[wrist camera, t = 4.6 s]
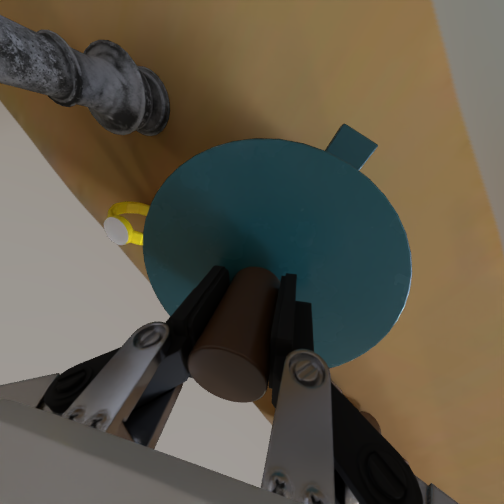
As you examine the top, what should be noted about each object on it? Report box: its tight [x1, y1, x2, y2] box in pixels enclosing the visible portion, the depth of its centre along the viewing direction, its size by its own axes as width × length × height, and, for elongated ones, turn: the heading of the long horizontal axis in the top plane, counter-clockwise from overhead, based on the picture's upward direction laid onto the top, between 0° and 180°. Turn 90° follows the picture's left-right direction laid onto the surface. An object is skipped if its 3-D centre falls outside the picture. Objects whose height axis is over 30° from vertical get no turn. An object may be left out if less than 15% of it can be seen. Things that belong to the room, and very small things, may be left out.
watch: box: [104, 201, 150, 246], centre depth 20 cm, size 6×3×6 cm, turn 60°
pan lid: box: [143, 138, 412, 402], centre depth 9 cm, size 14×14×6 cm
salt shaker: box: [0, 15, 170, 136], centre depth 13 cm, size 6×6×12 cm
